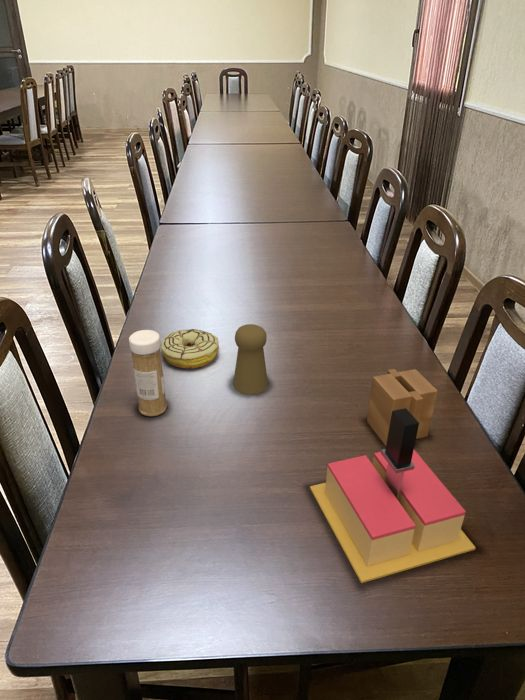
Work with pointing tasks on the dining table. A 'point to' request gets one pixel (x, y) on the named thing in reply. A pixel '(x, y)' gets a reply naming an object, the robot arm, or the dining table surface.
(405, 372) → the knife block
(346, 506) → the cake
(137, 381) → the sprinkles bottle
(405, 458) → the knife
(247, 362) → the olive brown pawn
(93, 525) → the dining table surface
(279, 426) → the dining table surface
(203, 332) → the decorated donut
